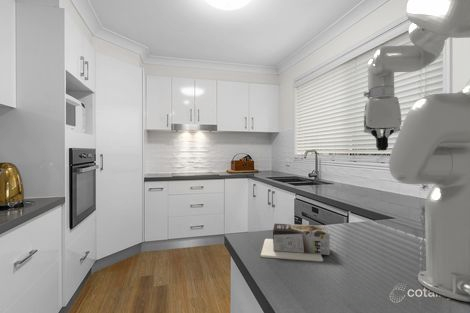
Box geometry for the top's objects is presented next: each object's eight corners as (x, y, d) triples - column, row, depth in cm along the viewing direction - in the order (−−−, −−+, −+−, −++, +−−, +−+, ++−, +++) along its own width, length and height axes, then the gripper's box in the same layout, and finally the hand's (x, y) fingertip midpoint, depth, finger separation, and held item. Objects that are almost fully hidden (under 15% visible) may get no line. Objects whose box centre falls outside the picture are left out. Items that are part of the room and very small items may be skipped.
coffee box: (329, 232, 72) (272, 229, 75) (330, 255, 72) (272, 251, 75) (325, 224, 81) (274, 222, 84) (325, 245, 81) (274, 242, 84)
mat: (322, 261, 69) (322, 259, 69) (260, 257, 72) (260, 255, 72) (316, 243, 84) (316, 241, 84) (265, 240, 88) (265, 238, 88)
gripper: (360, 93, 81) (361, 150, 81) (411, 90, 78) (413, 149, 78) (353, 99, 89) (354, 151, 88) (401, 96, 86) (402, 150, 85)
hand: (382, 150), depth 83 cm, fingers closed
